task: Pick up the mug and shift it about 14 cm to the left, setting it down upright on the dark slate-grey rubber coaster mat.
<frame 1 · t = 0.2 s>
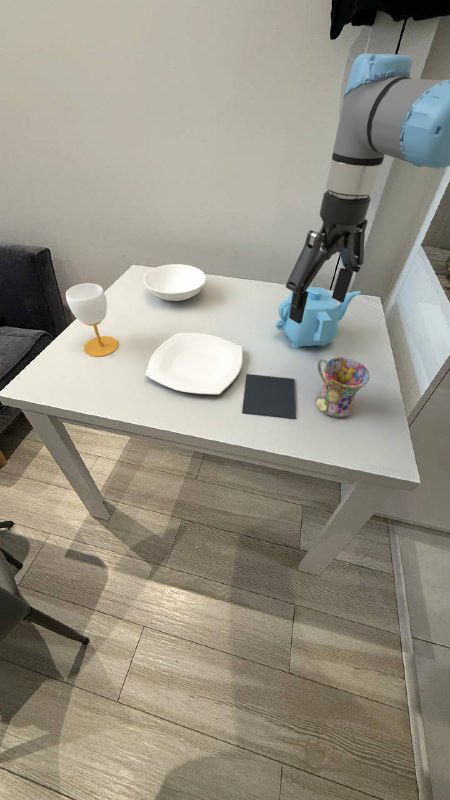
hand: (317, 309, 68), 19 cm above the table, tool pointing down, fingers open, 13 cm apart
left mat: (269, 395, 77), on the table
teapot: (309, 336, 95), on the table
cup: (101, 347, 89), on the table
mug: (328, 402, 77), on the table
bowl: (176, 296, 108), on the table
plate: (196, 366, 84), on the table
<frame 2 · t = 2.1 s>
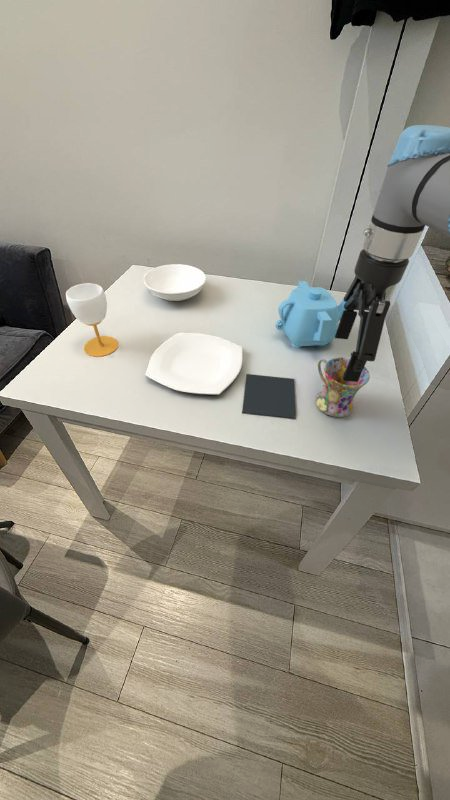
hand: (345, 357, 67), 13 cm above the table, tool pointing down, fingers open, 13 cm apart
nothing on the table moved.
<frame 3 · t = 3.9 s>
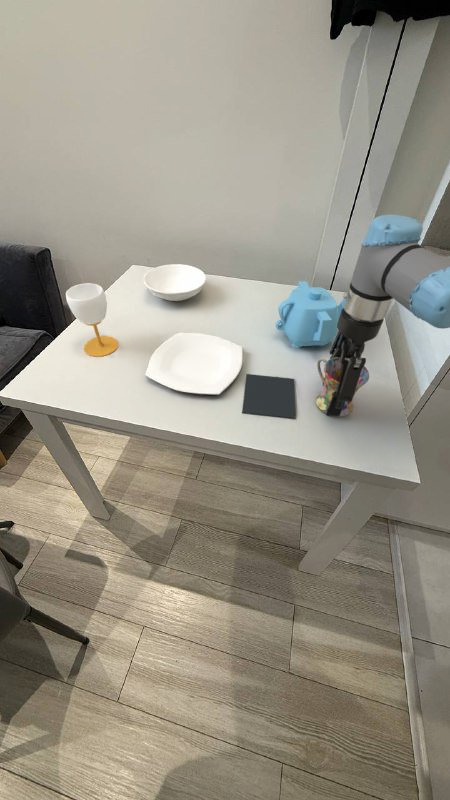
hand: (330, 399, 75), 1 cm above the table, tool pointing down, fingers closed on mug, 9 cm apart
mug: (328, 401, 77), on the table, touching gripper
everything else where it was.
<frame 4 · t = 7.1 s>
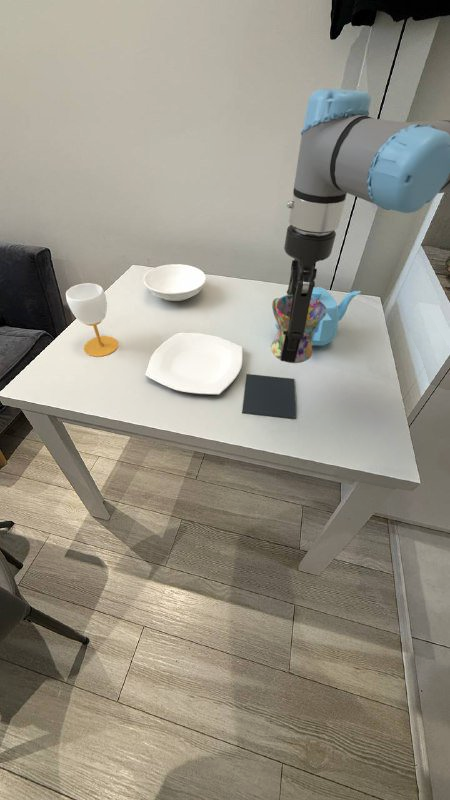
hand: (287, 345, 67), 15 cm above the table, tool pointing down, fingers closed on mug, 9 cm apart
mug: (286, 349, 68), point 13 cm above the table, touching gripper
everything else where it was.
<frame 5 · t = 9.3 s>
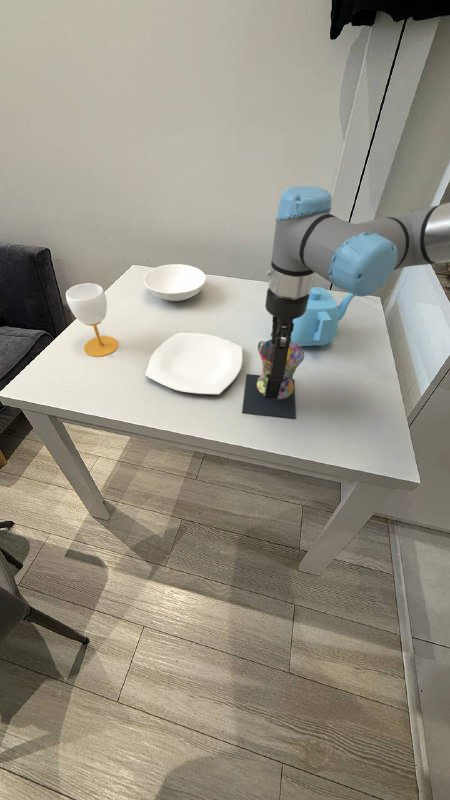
hand: (271, 382, 74), 4 cm above the table, tool pointing down, fingers closed on mug, 9 cm apart
mug: (270, 385, 76), point 3 cm above the table, touching gripper
everything else where it was.
when the fingers open (2 cm above the table, at t = 10.5 s): mug stays where it is, resting on left mat.
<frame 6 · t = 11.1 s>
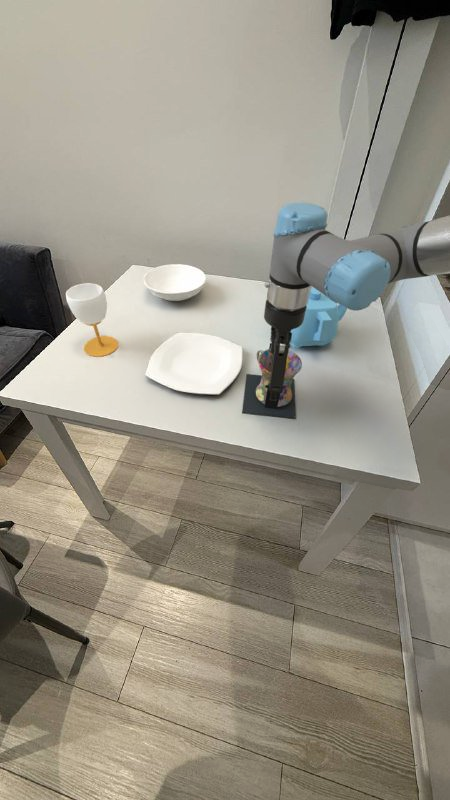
hand: (271, 385, 75), 3 cm above the table, tool pointing down, fingers open, 13 cm apart
mug: (269, 393, 78), resting on left mat
everything else where it was.
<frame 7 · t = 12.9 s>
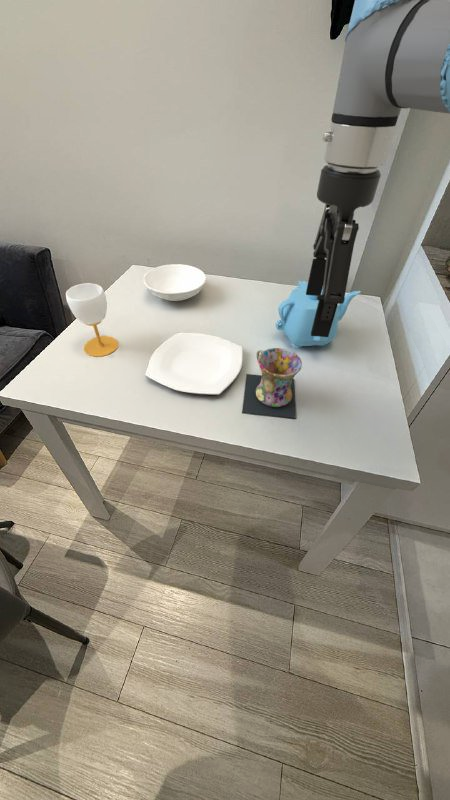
hand: (315, 313, 57), 25 cm above the table, tool pointing down, fingers open, 13 cm apart
nothing on the table moved.
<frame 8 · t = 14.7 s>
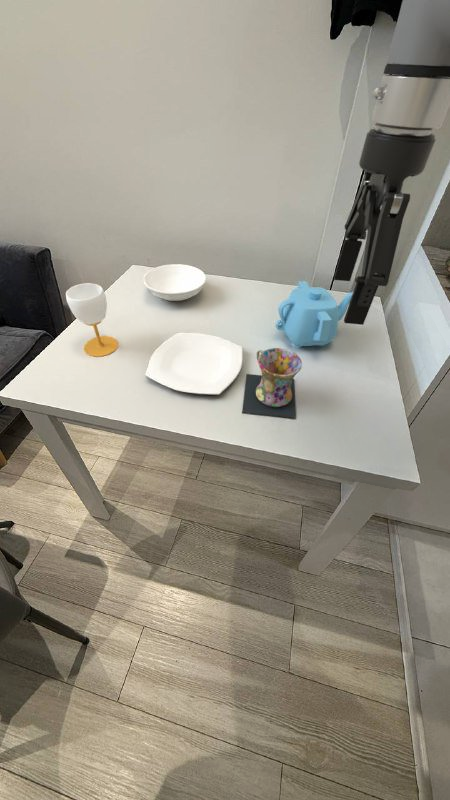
hand: (346, 299, 53), 29 cm above the table, tool pointing down, fingers open, 13 cm apart
nothing on the table moved.
at the end: mug inside the target area on the left mat (0.6 cm from its centre), point 0.2 cm above the left mat's base; mug tilted 0°; the gripper is holding nothing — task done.
